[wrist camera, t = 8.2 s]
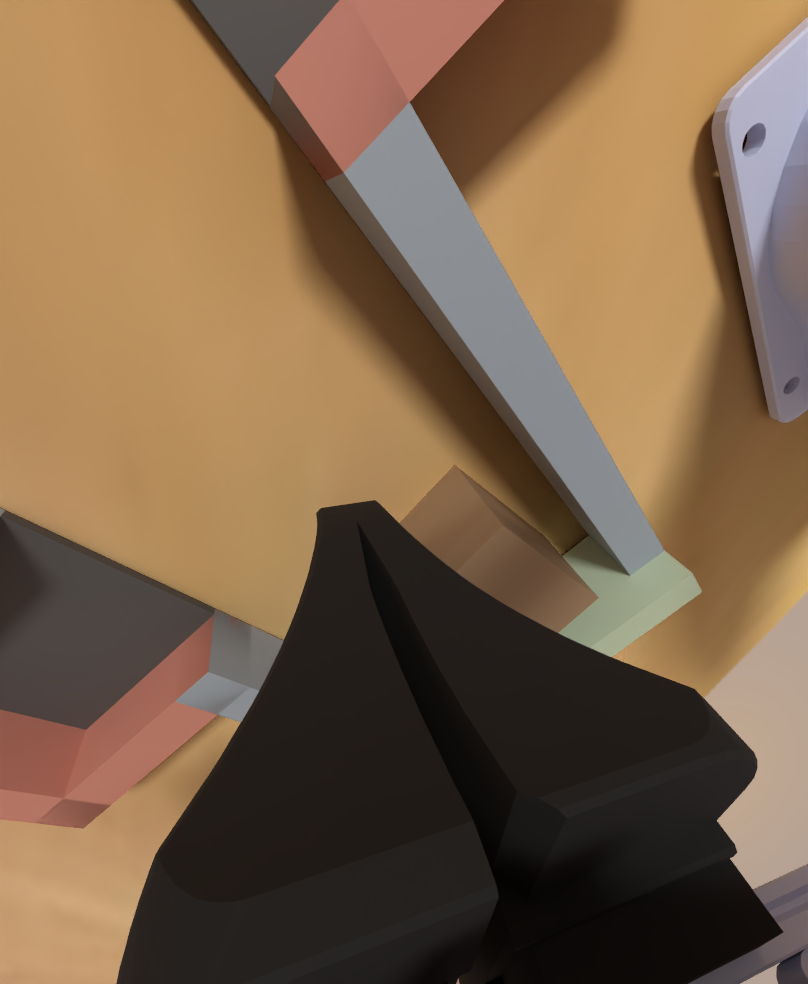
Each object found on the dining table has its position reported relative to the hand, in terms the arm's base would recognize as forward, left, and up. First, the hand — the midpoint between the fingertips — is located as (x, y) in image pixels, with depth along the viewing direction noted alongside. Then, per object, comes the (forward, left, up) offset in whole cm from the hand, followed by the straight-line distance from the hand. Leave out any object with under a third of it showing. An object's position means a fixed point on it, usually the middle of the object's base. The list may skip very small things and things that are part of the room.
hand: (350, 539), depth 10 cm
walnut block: (-4, -1, -2) cm, 4 cm away
